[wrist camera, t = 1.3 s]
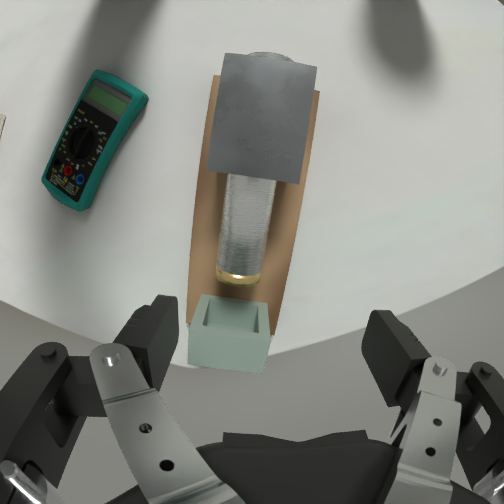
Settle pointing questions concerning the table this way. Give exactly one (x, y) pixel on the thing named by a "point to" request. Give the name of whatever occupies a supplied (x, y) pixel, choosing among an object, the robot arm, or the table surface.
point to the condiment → (1, 122)
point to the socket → (229, 334)
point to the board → (210, 224)
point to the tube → (245, 223)
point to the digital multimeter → (91, 138)
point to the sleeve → (261, 118)
